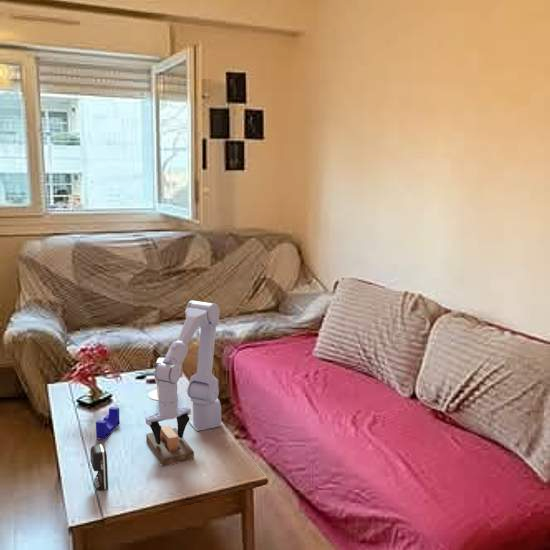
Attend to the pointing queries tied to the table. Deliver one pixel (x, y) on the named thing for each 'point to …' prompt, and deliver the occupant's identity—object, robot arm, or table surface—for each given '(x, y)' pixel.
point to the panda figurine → (155, 393)
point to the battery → (99, 466)
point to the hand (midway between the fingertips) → (169, 439)
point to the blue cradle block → (107, 423)
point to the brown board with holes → (171, 456)
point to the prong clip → (169, 438)
